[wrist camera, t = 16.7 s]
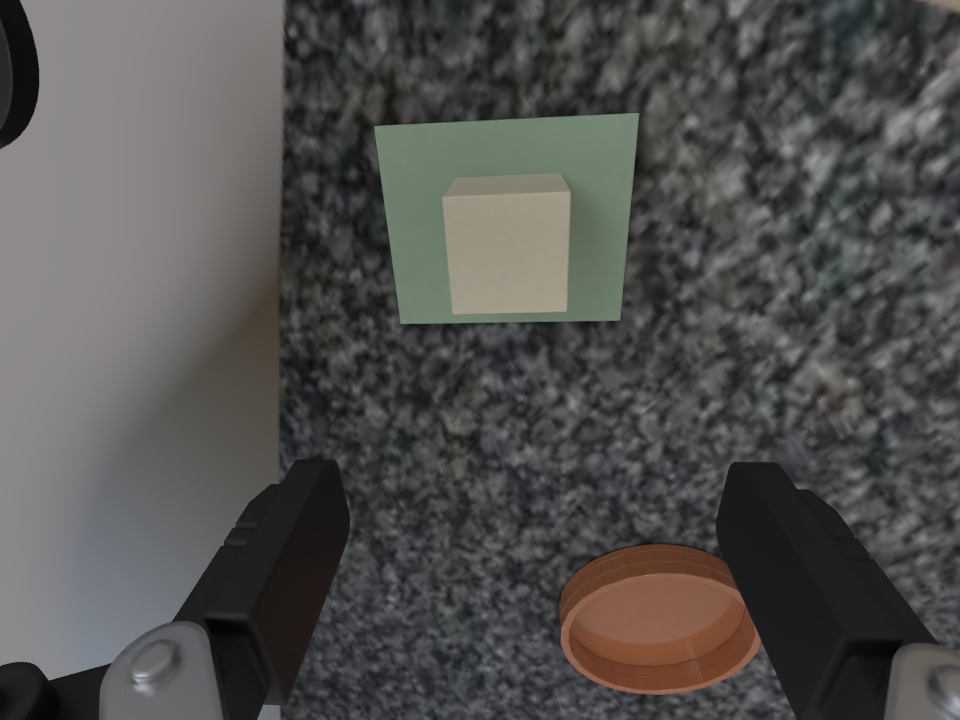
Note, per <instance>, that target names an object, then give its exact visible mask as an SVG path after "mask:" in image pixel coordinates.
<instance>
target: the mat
mask: <svg viewBox="0 0 960 720" xmlns="http://www.w3.org/2000/svg"><path fill="white" fill-rule="evenodd" d="M638 123H639V113H623V114H603V115H583V116H563V117H543V118H524V119H504V120H484V121H464V122H444V123H424V124H404V125H384V126H375V127H374V130H375V137H376V145H377V152H378V160H379V167H380V174H381V182H382V189H383V196H384V204H385V211H386V219H387V226H388V233H389V241H390V248H391V256H392V263H393V270H394V278H395V285H396V292H397V300H398V307H399V315H400V322H401V324H432V323H495V322H558V321H619V320H620V316H621V305H622V294H623V284H624V273H625V262H626V252H627V241H628V230H629V219H630V209H631V198H632V187H633V176H634V166H635V155H636V144H637V134H638ZM545 173H561V174H562V176H563V178H564V180H565V182H566V184H567V185H568V187H569V189H570V191H571V215H570V247H569V279H568V310H567V312H544V313H500V314H456V315H454V314H452V307H451V295H450V284H449V273H448V261H447V250H446V238H445V227H444V215H443V204H442V197H443V196H444V194H445V193H446V192H447V190H448V189H449V188H450V186H451V185H452V183H453V182H454V181H455V179H456V178H460V177H481V176H503V175H524V174H545Z"/></svg>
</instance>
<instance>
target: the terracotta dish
mask: <svg viewBox="0 0 960 720" xmlns="http://www.w3.org/2000/svg"><path fill="white" fill-rule="evenodd" d="M559 630H560V643H561V646H562V648H563V651H564V653H565V656H566V658H567V659H568V661H569V662H570V663H571V664H572V665H573V666H574V667H575V668H576V670H577V671H578V672H580V673H582V674H583V675H585V676H586V677H588V678H589V679H591V680H592V681H594V682H597V683H599V684H602V685H604V686H607V687H610V688H612V689H615V690H620V691H625V692H630V693H635V694H636V693H637V694H656V695H660V694H661V695H662V694H673V693H683V692H688V691H692V690H696V689H700V688H704V687H708V686H710V685H713V684H715V683H717V682H720V681H722V680H724V679H726V678H728V677H730V676H732V675H733V674H735V673H736V672H737V671H739V670H740V669H742V668H743V667H745V666H746V665H747V664H748V663H749V661H750V660H751V659H752V658H753V657H754V655H755V654H756V653H757V652H758V650H759V647H760V644H761V642H762V641H761V639H760V637H759V634H758V632H757V630H756V628H755V626H754V623H753V621H752V619H751V617H750V614H749V612H748V610H747V608H746V606H745V603H744V601H743V599H742V597H741V594H740V592H739V590H738V588H737V586H736V583H735V581H734V579H733V577H732V574H731V572H730V570H729V568H728V566H727V563H726V562H725V561H724V560H722V559H720V558H718V557H716V556H714V555H712V554H710V553H707V552H705V551H702V550H698V549H695V548H691V547H686V546H679V545H669V544H649V545H640V546H633V547H629V548H624V549H620V550H617V551H614V552H610V553H608V554H606V555H603V556H601V557H599V558H597V559H595V560H593V561H591V562H589V563H588V564H586V565H585V566H584V567H582V568H581V569H580V570H579V571H577V572H576V573H575V574H574V575H573V576H572V577H571V579H570V580H569V581H568V582H567V584H566V585H565V587H564V589H563V591H562V594H561V596H560V600H559Z"/></svg>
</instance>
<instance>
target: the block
mask: <svg viewBox="0 0 960 720" xmlns="http://www.w3.org/2000/svg"><path fill="white" fill-rule="evenodd" d="M442 204H443V215H444V227H445V238H446V250H447V261H448V273H449V284H450V295H451V307H452V314H454V315H456V314H500V313H544V312H567V310H568V279H569V247H570V215H571V191H570V189H569V187H568V185H567V184H566V182H565V180H564V178H563V176H562V174H561V173H545V174H524V175H503V176H481V177H460V178H456V179H455V181H454V182H453V183H452V185H451V186H450V188H449V189H448V190H447V192H446V193H445V194H444V196H443V197H442Z"/></svg>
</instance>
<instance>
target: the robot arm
mask: <svg viewBox="0 0 960 720" xmlns="http://www.w3.org/2000/svg"><path fill="white" fill-rule="evenodd" d="M349 528H350V515H349V509H348V505H347V501H346V497H345V492H344V488H343V484H342V479H341V475H340V471H339V467H338V464H337V462H336V461H335V460H333V459H299V460H297V461H296V462H295V463H294V464H293V466H292V467H291V469H290V471H289V472H288V474H287V476H286V477H285V479H284V481H283V482H282V484H271V485H269V486H268V487H267V488H266V489H265V490H263V491H262V492H261V493H260V494H259V495H257V496H256V497H255V498H254V499H253V500H252V501H250V502H249V504H248V505H247V507H246V509H245V510H244V511H243V513H242V515H241V516H240V518H239V519H238V521H237V522H236V527H235V528H233V529H232V530H231V532H230V533H229V535H228V536H227V538H226V539H225V541H224V546H221V547H220V548H219V550H218V552H217V553H216V555H215V556H214V558H213V559H212V561H211V563H210V564H209V566H208V567H207V569H206V570H205V572H204V573H203V575H202V576H201V578H200V579H199V581H198V583H197V584H196V586H195V587H194V589H193V590H192V592H191V593H190V595H189V596H188V598H187V599H186V601H185V602H184V604H183V606H182V607H181V609H180V610H179V612H178V613H177V615H176V616H175V618H174V619H173V620H172V622H170V623H167V624H163V625H161V626H158V627H156V628H154V629H152V630H150V631H148V632H146V633H144V634H143V635H141V636H140V637H138V638H137V639H136V640H134V641H133V642H132V643H131V644H129V645H128V646H127V647H126V648H125V649H124V650H123V651H122V652H121V653H120V654H119V655H118V656H117V658H116V659H115V660H114V661H113V663H111V664H107V665H104V666H100V667H96V668H93V669H89V670H86V671H82V672H79V673H75V674H71V675H68V676H64V677H60V678H57V679H54V680H50V681H49V680H48V679H47V678H46V676H45V675H44V674H43V673H42V671H41V670H40V669H39V668H38V667H37V666H36V665H34V664H32V663H28V662H15V663H9V664H5V665H2V666H0V720H257V718H258V716H259V713H260V711H261V708H262V706H263V704H266V705H286V704H287V701H288V698H289V696H290V693H291V690H292V688H293V685H294V682H295V680H296V677H297V674H298V672H299V669H300V666H301V664H302V661H303V658H304V656H305V653H306V650H307V648H308V645H309V642H310V640H311V637H312V634H313V632H314V629H315V626H316V624H317V621H318V618H319V616H320V613H321V610H322V607H323V605H324V602H325V599H326V597H327V594H328V591H329V589H330V586H331V583H332V581H333V578H334V575H335V573H336V570H337V567H338V565H339V562H340V559H341V557H342V554H343V551H344V549H345V546H346V543H347V540H348V535H349ZM716 532H717V539H718V543H719V547H720V550H721V552H722V554H723V557H724V559H725V561H726V563H727V566H728V568H729V570H730V572H731V574H732V577H733V579H734V581H735V583H736V586H737V588H738V590H739V592H740V594H741V597H742V599H743V601H744V603H745V606H746V608H747V610H748V612H749V614H750V617H751V619H752V621H753V623H754V626H755V628H756V630H757V632H758V634H759V637H760V639H761V641H762V643H763V646H764V648H765V650H766V652H767V654H768V657H769V659H770V661H771V663H772V666H773V668H774V670H775V672H776V674H777V677H778V679H779V681H780V683H781V686H782V688H783V690H784V692H785V694H786V697H787V699H788V701H789V703H790V706H791V708H792V710H793V712H794V714H795V717H796V719H797V720H960V653H959V652H956V651H954V650H952V649H949V648H946V647H943V646H940V645H939V643H938V642H937V641H936V640H935V639H934V637H933V636H932V635H931V633H930V632H929V631H928V630H927V628H926V627H925V626H924V624H923V623H922V622H921V620H920V619H919V618H918V617H917V615H916V614H915V613H914V611H913V610H912V609H911V607H910V606H909V605H908V604H907V602H906V601H905V600H904V598H903V597H902V596H901V594H900V593H899V592H898V591H897V589H896V588H895V587H894V585H893V584H892V583H891V581H890V580H889V579H888V578H887V576H886V575H885V574H884V572H883V571H882V570H881V568H880V567H879V566H878V565H877V563H876V562H875V561H874V559H870V557H869V553H868V552H867V550H866V549H865V548H864V546H863V545H862V544H861V542H860V541H859V540H858V539H855V538H854V533H853V532H852V531H851V529H850V528H849V527H848V526H847V524H846V523H845V522H844V520H843V519H842V518H841V516H840V515H839V514H838V513H837V511H836V510H835V509H834V508H832V507H831V506H830V505H828V504H827V503H826V502H824V501H823V500H822V499H820V498H819V497H818V496H816V495H815V494H814V493H812V492H811V491H810V490H807V489H797V488H796V487H795V486H794V484H793V483H792V481H791V480H790V479H789V477H788V476H787V474H786V473H785V472H784V470H783V469H782V468H781V466H780V465H778V464H777V463H775V462H734V463H732V464H731V465H730V467H729V470H728V474H727V478H726V482H725V486H724V490H723V494H722V499H721V503H720V507H719V511H718V515H717V520H716Z"/></svg>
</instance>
